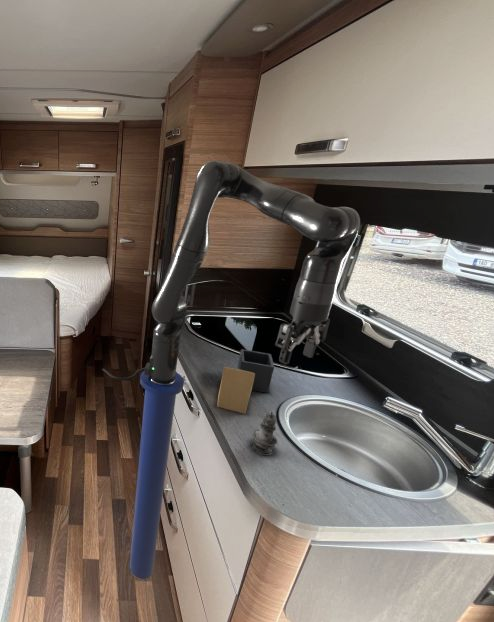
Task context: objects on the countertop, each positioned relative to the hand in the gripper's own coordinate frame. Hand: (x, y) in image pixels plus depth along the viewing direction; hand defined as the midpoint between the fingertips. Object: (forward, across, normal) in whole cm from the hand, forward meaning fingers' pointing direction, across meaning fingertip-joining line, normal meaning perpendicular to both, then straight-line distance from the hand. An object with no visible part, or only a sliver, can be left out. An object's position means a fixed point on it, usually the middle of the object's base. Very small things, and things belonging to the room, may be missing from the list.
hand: (295, 359), depth 83 cm
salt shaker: (+26, +5, +1) cm, 26 cm away
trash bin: (+26, -17, -23) cm, 39 cm away
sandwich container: (+26, -5, -19) cm, 33 cm away
